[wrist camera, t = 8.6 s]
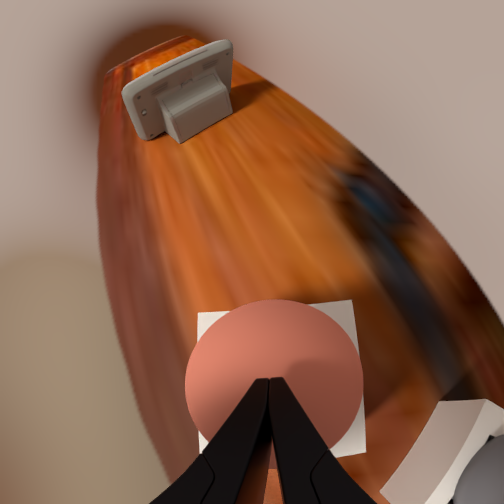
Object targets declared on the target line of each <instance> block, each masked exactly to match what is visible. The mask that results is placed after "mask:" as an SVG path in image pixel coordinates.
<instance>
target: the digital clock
mask: <svg viewBox="0 0 504 504" xmlns="http://www.w3.org/2000/svg"><path fill="white" fill-rule="evenodd" d="M232 61H233V45H232V43H231V41H230V40H220V41H216V42H213V43H210V44H207V45H205V46H202V47H200V48H197V49H195V50H193V51H190V52H188V53H186V54H184V55H181V56H179V57H177V58H175V59H173V60H171V61H169V62H167V63H165V64H163V65H161V66H159V67H157V68H155V69H153V70H151V71H149V72H147V73H145V74H144V75H142V76H140V77H138V78H136V79H135V80H133V81H131V82H130V83H128V84H127V85H126V86H125V87H124V89H123V91H122V97H123V100H124V103H125V105H126V108H127V110H128V113H129V115H130V117H131V120H132V122H133V124H134V127H135V129H136V132H137V134H138V136H139V137H140V138H141V139H143V140H151V139H152V138H154V137H156V136H157V135H159V134H161V133H162V132H164V131H165V132H166V133H168V134H169V135H170V136H171V137H172V138H173V139H175V140H176V141H177V142H178V143H179V144H181V143H182V142H184V141H186V140H187V139H189V138H190V137H192V136H194V135H195V134H197V133H199V132H200V131H202V130H204V129H205V128H207V127H209V126H210V125H212V124H214V123H216V122H217V121H219V120H221V119H223V118H225V117H226V116H228V115H230V114H232V113H233V111H232V107H231V102H230V98H229V93H230V91H231V77H232Z"/></svg>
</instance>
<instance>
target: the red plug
mask: <svg viewBox="0 0 504 504" xmlns="http://www.w3.org/2000/svg"><path fill="white" fill-rule="evenodd" d="M271 377H283V378H284V379H285V381H286V382H287V384H288V386H289V387H290V389H291V390H292V392H293V394H294V395H295V397H296V398H297V400H298V402H299V403H300V405H301V406H302V408H303V409H304V411H305V413H306V414H307V416H308V417H309V419H310V420H311V422H312V423H313V425H314V426H315V428H316V430H317V431H318V433H319V434H320V436H321V437H322V439H323V440H324V442H325V443H326V445H327V446H328V448H329V449H331V448H332V447H333V446H334V445H335V444H336V443H337V442H339V441H340V440H341V439H342V437H343V436H344V435H345V434H346V432H347V431H348V430H349V428H350V427H351V425H352V423H353V421H354V420H355V418H356V415H357V413H358V410H359V408H360V404H361V400H362V395H363V386H364V385H363V370H362V364H361V361H360V358H359V355H358V352H357V350H356V348H355V346H354V344H353V342H352V340H351V339H350V337H349V336H348V334H347V333H346V332H345V331H344V330H343V328H342V327H341V326H340V325H339V324H338V323H337V322H336V321H334V320H333V319H332V318H331V317H329V316H328V315H326V314H325V313H323V312H322V311H320V310H318V309H316V308H314V307H312V306H309V305H306V304H303V303H300V302H295V301H291V300H280V299H277V300H263V301H256V302H253V303H249V304H246V305H243V306H241V307H238V308H236V309H234V310H232V311H230V312H228V313H226V314H225V315H224V316H222V317H221V318H219V319H218V320H217V321H216V322H214V323H213V324H212V325H211V326H210V327H209V328H208V329H207V330H206V332H205V333H204V334H203V335H202V336H201V338H200V339H199V341H198V343H197V344H196V346H195V348H194V350H193V352H192V354H191V357H190V360H189V363H188V366H187V371H186V378H185V393H186V400H187V405H188V409H189V412H190V414H191V417H192V419H193V421H194V423H195V425H196V427H197V429H198V430H199V431H200V433H201V434H202V436H203V437H204V438H205V439H206V440H207V441H208V442H210V440H211V439H212V438H213V437H214V435H215V434H216V433H217V431H218V430H219V429H220V427H221V426H222V425H223V423H224V422H225V421H226V419H227V418H228V417H229V415H230V414H231V413H232V411H233V410H234V408H235V407H236V406H237V404H238V403H239V402H240V400H241V399H242V397H243V396H244V395H245V393H246V392H247V390H248V389H249V387H250V386H251V385H252V383H253V382H254V380H255V379H256V378H269V380H270V378H271ZM269 469H277V465H276V458H275V452H274V446H273V439H272V448H271V455H270V462H269Z"/></svg>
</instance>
